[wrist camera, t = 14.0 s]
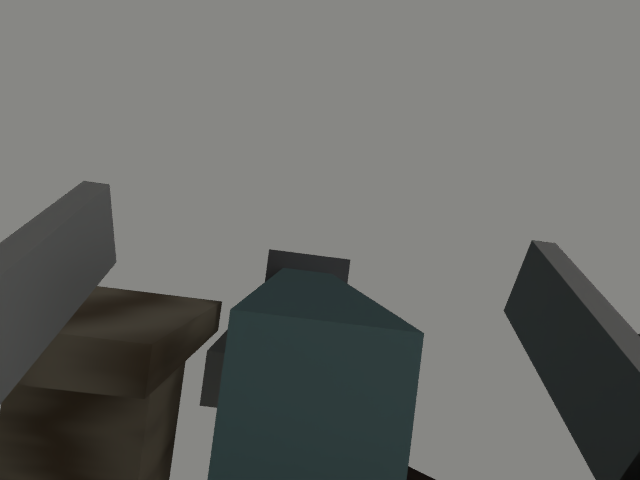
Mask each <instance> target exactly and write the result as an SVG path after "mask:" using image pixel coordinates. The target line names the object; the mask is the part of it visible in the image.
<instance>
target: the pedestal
mask: <svg viewBox="0 0 640 480" xmlns="http://www.w3.org/2000/svg"><path fill="white" fill-rule="evenodd" d="M221 305H222V302H221V301H213V300H205V299H197V298H188V297H180V296H171V295H164V294H156V293H148V292H140V291H131V290H123V289H115V288H107V287H99V286H96V288H95V289H94V290H93V291H92V293H91V294H90V295H89V296H88V297H87V299H86V300H85V301H84V302H83V304H82V305H81V306H80V307H79V308H78V310H77V311H76V312H75V313H74V315H73V316H72V317H71V318H70V320H69V321H68V322H67V323H66V324H65V326H64V327H63V328H62V329H61V331H60V332H59V333H58V334H57V335H56V337H55V338H54V339H53V340H52V342H51V343H50V344H49V345H48V347H47V348H46V349H45V350H44V351H43V353H42V354H41V355H40V356H39V358H38V359H37V360H36V361H35V362H34V364H33V365H32V366H31V367H30V369H29V370H28V371H27V372H26V374H25V375H24V376H23V377H22V378H21V380H20V381H19V382H18V383H17V385H16V386H15V387H14V388H13V389H12V391H11V392H10V393H9V394H8V396H7V397H6V398H5V399H4V401H3V402H2V403H1V409H0V480H169V477H170V469H171V463H172V455H173V448H174V440H175V433H176V425H177V419H178V412H179V404H180V397H181V390H182V382H183V375H184V368H185V361H186V360H187V359H188V358H189V357H190V356H191V355H192V354H193V353H195V352H196V350H198V349H199V348H200V347H201V346H202V345H203V344H204V343H205V342H206V341H207V340H208V339H209V338H210V337H211V336H213V335H214V334H215V333H216V332H217V331H218V327H219V319H220V312H221Z"/></svg>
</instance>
